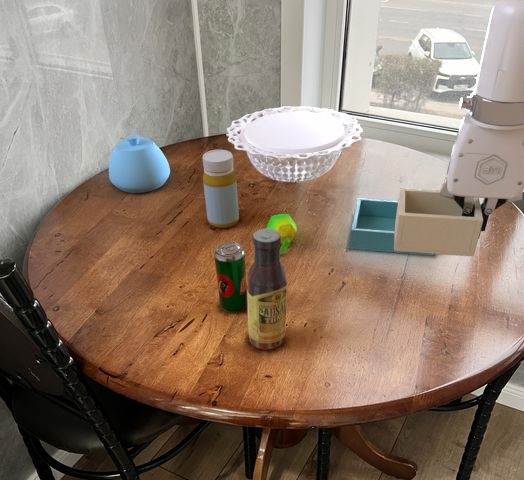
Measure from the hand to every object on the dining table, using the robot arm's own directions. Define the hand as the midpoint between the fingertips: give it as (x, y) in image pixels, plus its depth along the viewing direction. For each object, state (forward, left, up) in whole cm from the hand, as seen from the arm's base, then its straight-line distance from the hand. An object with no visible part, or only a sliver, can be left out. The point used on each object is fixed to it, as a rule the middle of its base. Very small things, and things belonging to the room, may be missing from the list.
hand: (470, 233), depth 82 cm
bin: (+11, -26, -17) cm, 33 cm away
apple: (+33, -19, -17) cm, 42 cm away
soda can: (+38, +3, -17) cm, 41 cm away
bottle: (+48, -26, -17) cm, 57 cm away
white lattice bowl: (+36, -48, -17) cm, 63 cm away
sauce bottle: (+30, +11, -17) cm, 36 cm away
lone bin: (+5, 0, -1) cm, 6 cm away
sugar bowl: (+74, -42, -17) cm, 87 cm away
